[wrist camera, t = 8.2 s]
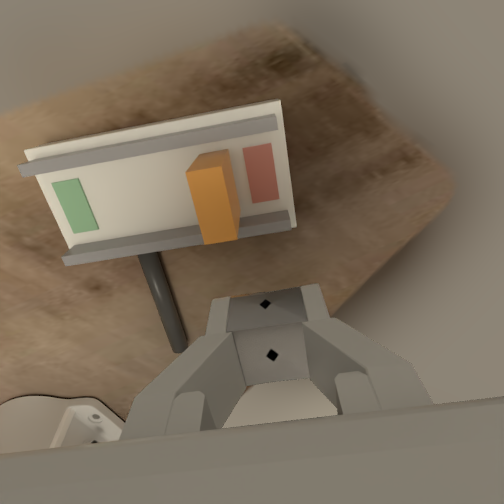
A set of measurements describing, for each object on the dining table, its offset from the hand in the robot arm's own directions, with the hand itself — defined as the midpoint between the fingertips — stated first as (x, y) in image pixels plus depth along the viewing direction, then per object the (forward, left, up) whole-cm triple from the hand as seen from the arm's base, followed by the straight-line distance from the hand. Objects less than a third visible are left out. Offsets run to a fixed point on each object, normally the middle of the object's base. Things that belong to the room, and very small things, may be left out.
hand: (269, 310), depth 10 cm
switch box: (-1, +9, -19) cm, 21 cm away
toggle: (+1, +2, -16) cm, 16 cm away
